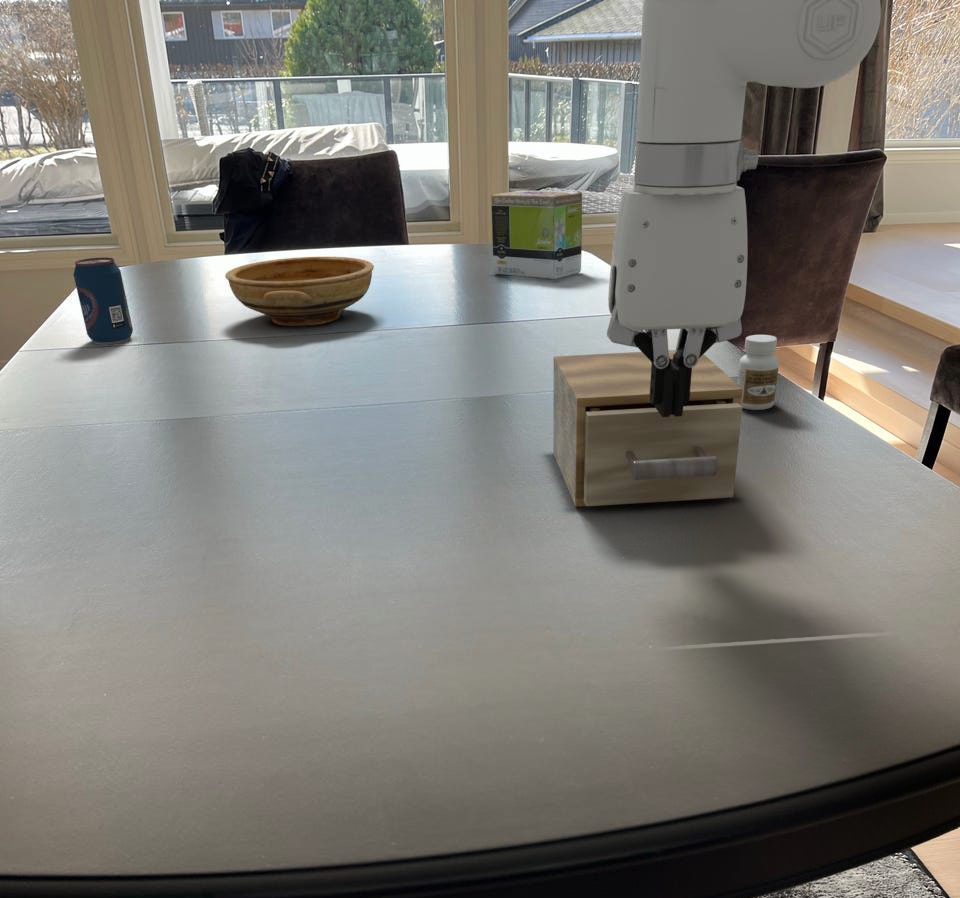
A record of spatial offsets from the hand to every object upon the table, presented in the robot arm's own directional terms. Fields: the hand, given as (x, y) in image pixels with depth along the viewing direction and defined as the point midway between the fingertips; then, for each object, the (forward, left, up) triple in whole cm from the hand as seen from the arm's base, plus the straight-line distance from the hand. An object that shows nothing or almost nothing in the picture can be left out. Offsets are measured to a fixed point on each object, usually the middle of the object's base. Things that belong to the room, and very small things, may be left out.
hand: (668, 411), depth 81 cm
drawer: (0, -6, -9) cm, 11 cm away
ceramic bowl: (+39, -92, -10) cm, 101 cm away
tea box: (-4, -123, -10) cm, 124 cm away
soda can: (+69, -83, -10) cm, 108 cm away
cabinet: (0, -11, -10) cm, 15 cm away
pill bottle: (-18, -31, -10) cm, 37 cm away
